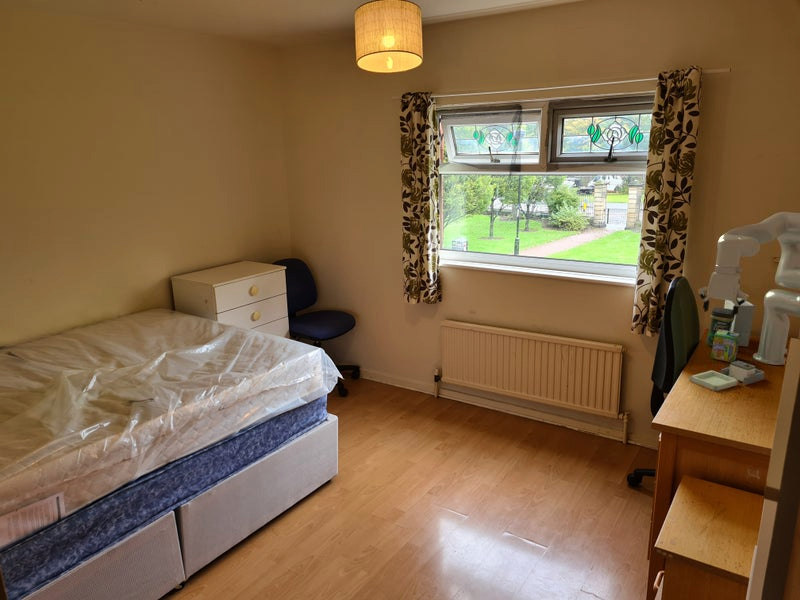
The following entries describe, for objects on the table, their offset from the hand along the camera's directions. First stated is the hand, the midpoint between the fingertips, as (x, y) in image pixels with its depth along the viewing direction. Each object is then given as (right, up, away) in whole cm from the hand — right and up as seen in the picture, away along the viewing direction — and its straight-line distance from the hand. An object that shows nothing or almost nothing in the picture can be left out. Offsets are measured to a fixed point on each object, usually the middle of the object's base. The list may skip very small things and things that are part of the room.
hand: (719, 313), depth 212 cm
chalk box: (+19, -21, +29) cm, 41 cm away
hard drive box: (+36, -15, +50) cm, 64 cm away
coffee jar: (+25, -17, +44) cm, 53 cm away
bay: (+13, -26, +8) cm, 31 cm away
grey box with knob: (+13, -27, +8) cm, 31 cm away
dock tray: (0, -28, +4) cm, 28 cm away
